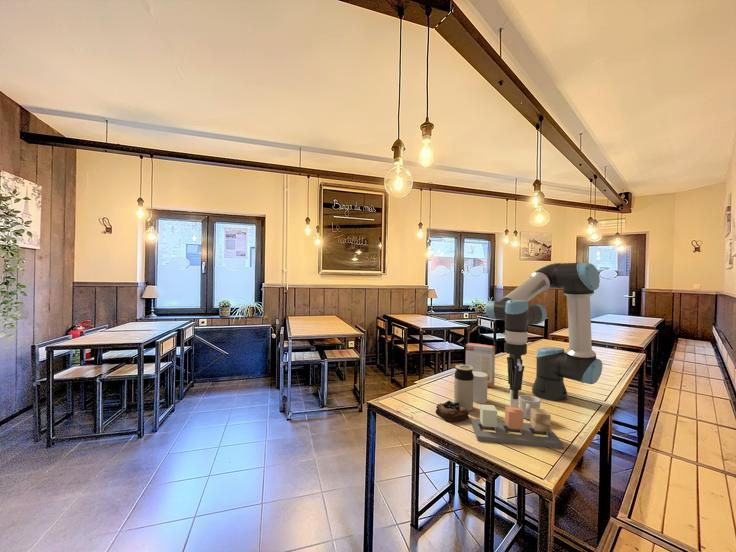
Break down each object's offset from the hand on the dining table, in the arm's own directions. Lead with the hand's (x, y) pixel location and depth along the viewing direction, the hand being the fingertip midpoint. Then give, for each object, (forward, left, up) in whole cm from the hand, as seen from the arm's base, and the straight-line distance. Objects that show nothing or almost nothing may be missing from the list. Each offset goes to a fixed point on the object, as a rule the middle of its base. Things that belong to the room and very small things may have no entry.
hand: (514, 406), depth 118 cm
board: (0, 0, -10) cm, 10 cm away
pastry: (+21, -12, -11) cm, 26 cm away
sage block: (+9, 0, -7) cm, 11 cm away
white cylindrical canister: (+7, -32, -11) cm, 34 cm away
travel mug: (+15, -21, -11) cm, 28 cm away
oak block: (-9, 0, -7) cm, 12 cm away
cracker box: (+2, -55, -11) cm, 56 cm away
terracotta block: (0, 0, -7) cm, 7 cm away
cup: (-10, -15, -11) cm, 21 cm away
